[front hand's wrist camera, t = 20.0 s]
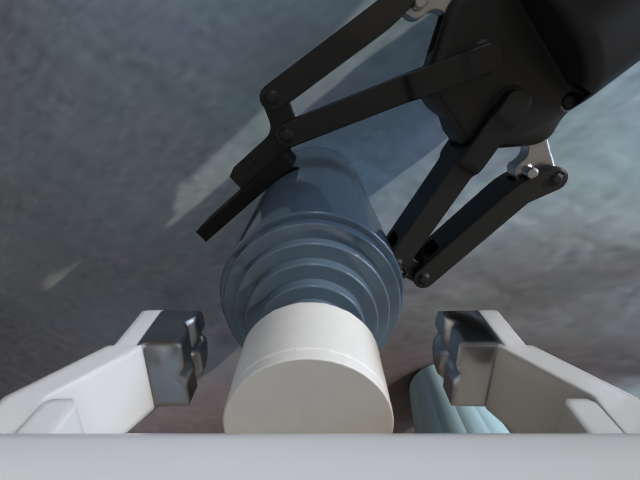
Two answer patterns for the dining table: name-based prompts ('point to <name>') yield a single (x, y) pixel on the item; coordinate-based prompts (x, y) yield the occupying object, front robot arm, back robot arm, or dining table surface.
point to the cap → (309, 375)
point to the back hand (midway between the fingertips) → (252, 272)
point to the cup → (445, 409)
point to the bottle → (313, 250)
